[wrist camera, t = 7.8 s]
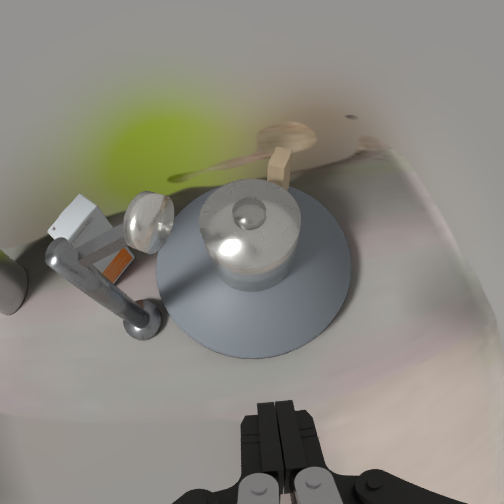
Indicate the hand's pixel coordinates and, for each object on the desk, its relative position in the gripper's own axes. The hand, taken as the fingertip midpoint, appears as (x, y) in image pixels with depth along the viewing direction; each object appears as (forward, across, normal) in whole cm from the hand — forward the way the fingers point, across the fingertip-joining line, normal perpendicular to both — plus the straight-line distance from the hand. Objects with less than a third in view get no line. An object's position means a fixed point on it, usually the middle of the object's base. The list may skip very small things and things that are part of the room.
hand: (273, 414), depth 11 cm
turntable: (+26, 0, +1) cm, 26 cm away
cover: (+25, 0, 0) cm, 25 cm away
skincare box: (+27, +19, +1) cm, 33 cm away
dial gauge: (+22, +11, +5) cm, 26 cm away
